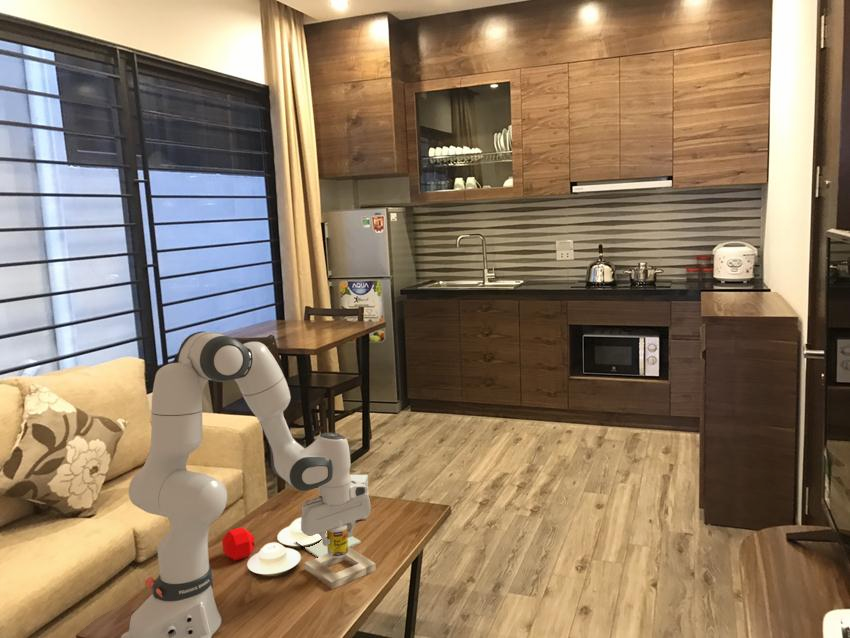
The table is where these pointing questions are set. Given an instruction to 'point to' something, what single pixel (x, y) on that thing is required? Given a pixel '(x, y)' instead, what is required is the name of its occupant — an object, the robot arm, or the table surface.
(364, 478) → the supplement box
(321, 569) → the birch caddy
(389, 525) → the table surface
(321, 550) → the sage tile
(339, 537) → the supplement bottle
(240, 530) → the ball
